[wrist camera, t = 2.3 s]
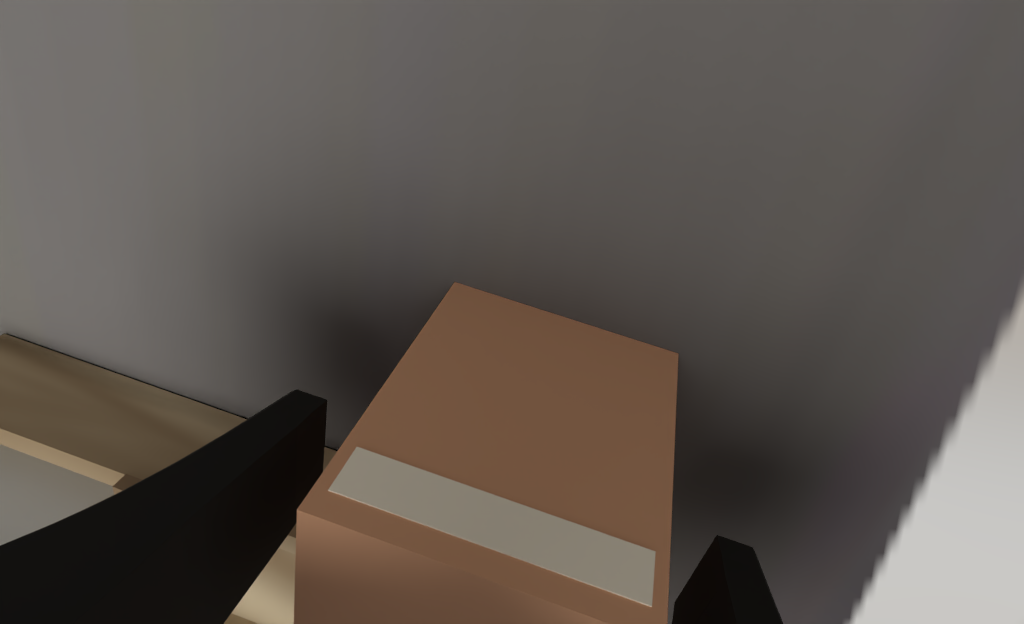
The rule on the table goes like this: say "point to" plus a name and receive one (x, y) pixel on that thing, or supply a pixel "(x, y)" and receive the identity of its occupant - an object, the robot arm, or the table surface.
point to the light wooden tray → (123, 441)
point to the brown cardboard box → (499, 479)
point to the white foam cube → (41, 493)
